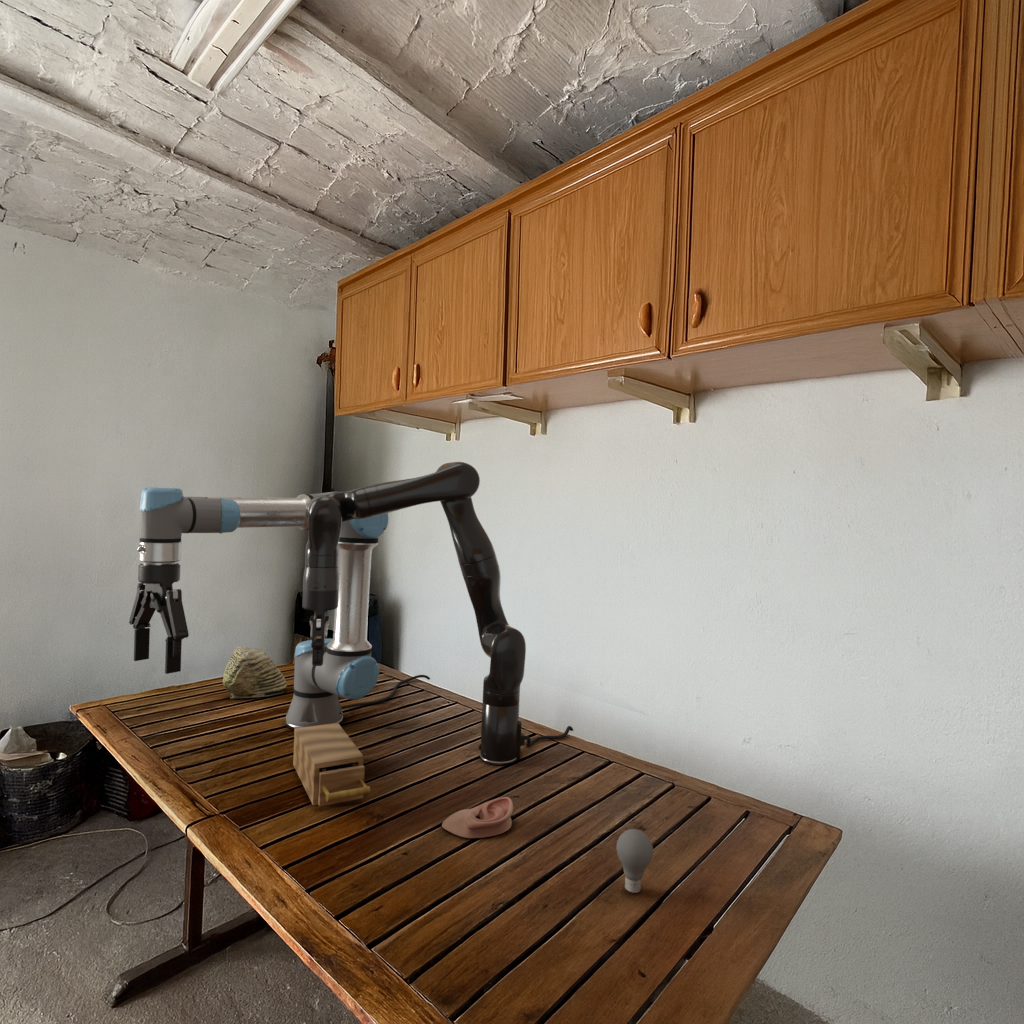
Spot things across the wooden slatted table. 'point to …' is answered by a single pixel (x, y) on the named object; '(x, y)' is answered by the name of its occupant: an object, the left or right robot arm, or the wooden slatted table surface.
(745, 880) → the wooden slatted table surface
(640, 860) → the light bulb
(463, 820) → the anatomical model
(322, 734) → the cabinet
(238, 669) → the fossil
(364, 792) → the drawer
